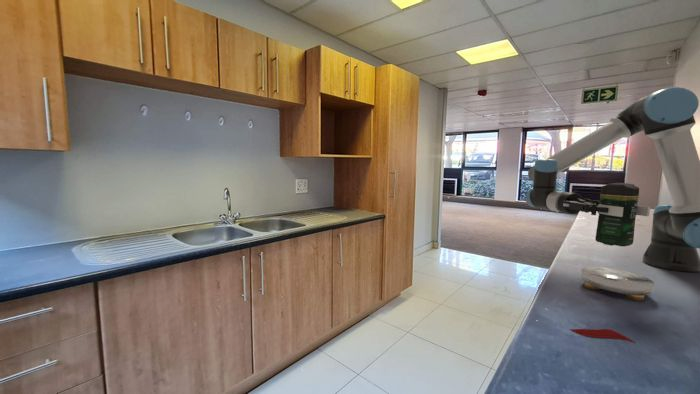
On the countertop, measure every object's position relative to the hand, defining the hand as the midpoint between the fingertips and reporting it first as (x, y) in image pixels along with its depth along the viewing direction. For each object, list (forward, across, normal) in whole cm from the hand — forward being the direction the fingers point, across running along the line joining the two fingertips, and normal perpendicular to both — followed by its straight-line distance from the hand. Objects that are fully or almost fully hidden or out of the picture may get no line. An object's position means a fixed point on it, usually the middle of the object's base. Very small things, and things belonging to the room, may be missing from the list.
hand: (635, 211), depth 83 cm
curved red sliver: (+17, +29, -25) cm, 42 cm away
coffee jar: (-5, 0, -11) cm, 12 cm away
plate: (-3, +1, -24) cm, 25 cm away
